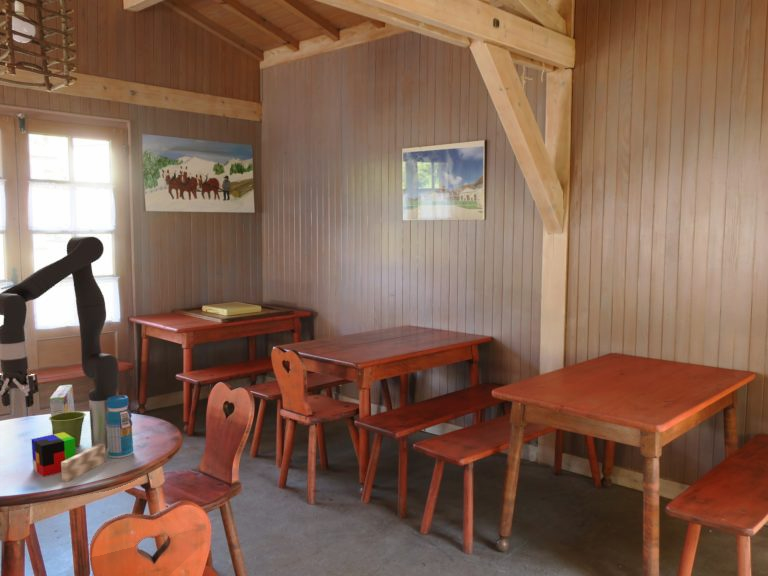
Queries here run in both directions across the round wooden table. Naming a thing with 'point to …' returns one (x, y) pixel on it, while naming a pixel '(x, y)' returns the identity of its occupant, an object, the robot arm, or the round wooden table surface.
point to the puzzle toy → (52, 452)
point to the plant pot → (68, 424)
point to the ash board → (83, 462)
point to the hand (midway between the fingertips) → (18, 406)
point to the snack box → (62, 401)
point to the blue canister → (119, 427)
